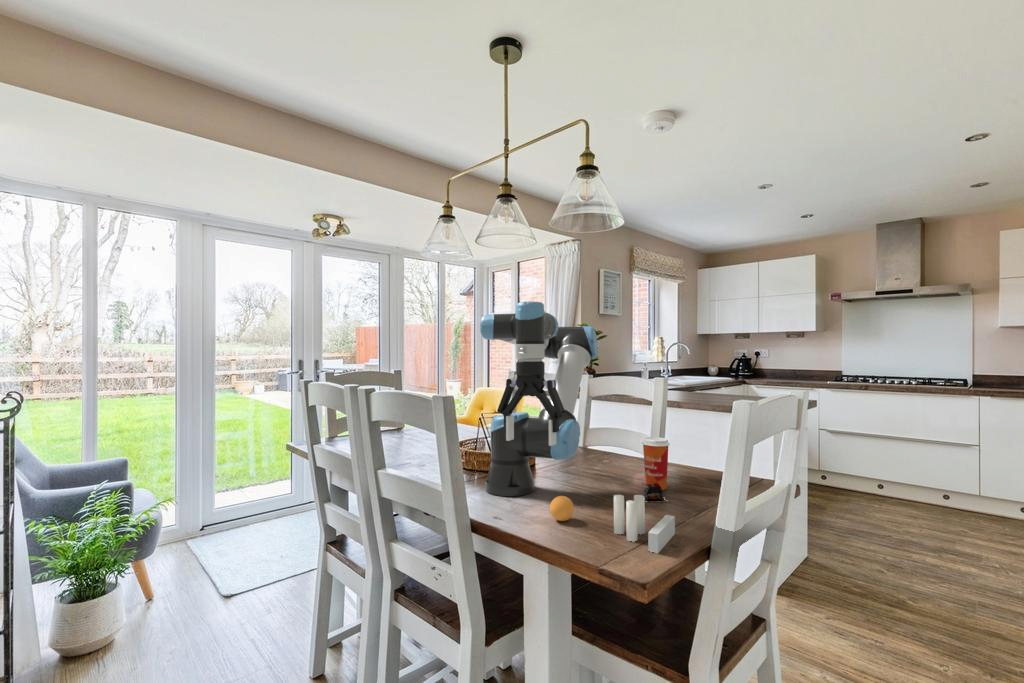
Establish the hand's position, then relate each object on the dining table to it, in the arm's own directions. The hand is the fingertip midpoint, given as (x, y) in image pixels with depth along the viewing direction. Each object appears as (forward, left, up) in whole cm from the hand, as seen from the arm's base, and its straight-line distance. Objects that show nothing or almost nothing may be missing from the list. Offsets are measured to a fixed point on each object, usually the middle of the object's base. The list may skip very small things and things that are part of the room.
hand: (530, 442), depth 126 cm
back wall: (+34, 0, -18) cm, 39 cm away
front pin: (+24, 0, -18) cm, 30 cm away
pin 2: (+28, +2, -18) cm, 34 cm away
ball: (+9, 0, -15) cm, 18 cm away
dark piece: (+23, +29, -19) cm, 42 cm away
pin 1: (+28, -3, -18) cm, 34 cm away
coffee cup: (+20, +41, -19) cm, 49 cm away
